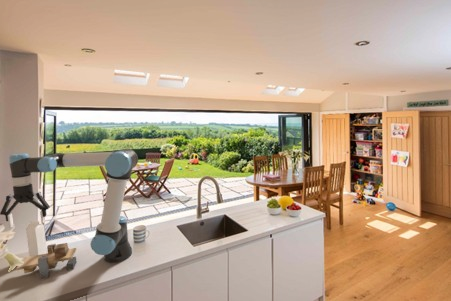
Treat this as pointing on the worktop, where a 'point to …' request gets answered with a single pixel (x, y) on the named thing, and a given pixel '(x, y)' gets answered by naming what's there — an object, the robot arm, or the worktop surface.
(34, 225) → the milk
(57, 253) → the block
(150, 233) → the worktop surface
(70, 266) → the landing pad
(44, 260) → the fulcrum
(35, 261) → the tan piece
